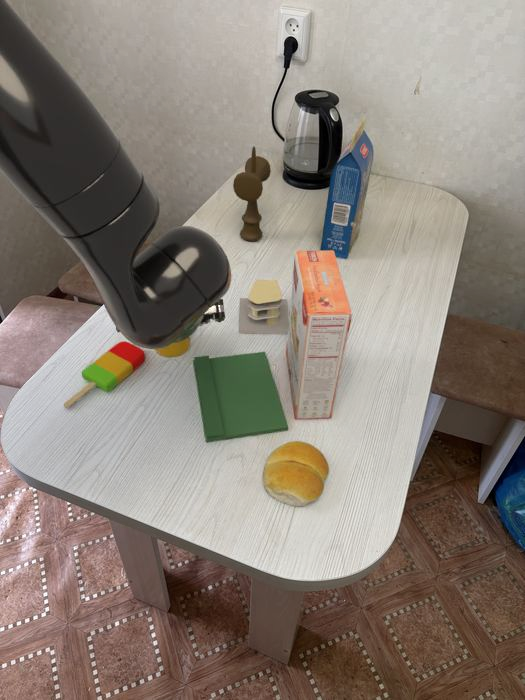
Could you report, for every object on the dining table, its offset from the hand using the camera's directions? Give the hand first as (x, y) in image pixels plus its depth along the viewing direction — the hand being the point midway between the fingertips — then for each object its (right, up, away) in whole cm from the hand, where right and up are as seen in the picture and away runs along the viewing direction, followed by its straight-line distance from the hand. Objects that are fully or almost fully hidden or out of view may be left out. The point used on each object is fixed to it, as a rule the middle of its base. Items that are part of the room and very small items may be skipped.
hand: (170, 320), depth 73 cm
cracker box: (+20, -10, +7) cm, 24 cm away
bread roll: (+18, -22, -5) cm, 29 cm away
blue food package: (+30, +19, +38) cm, 53 cm away
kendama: (+11, +21, +38) cm, 45 cm away
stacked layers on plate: (+14, +2, +19) cm, 23 cm away
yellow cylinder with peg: (-2, -3, +12) cm, 13 cm away
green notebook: (+10, -11, +5) cm, 15 cm away
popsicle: (-12, -9, +6) cm, 16 cm away
